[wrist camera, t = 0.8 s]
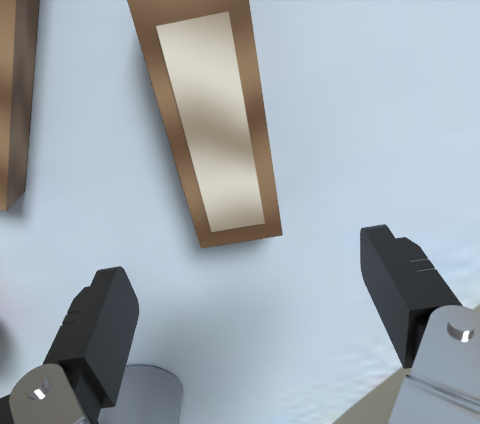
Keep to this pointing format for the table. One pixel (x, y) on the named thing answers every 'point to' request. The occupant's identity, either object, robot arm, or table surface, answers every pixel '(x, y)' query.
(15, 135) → the walnut rail
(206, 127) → the walnut frame
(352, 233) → the table surface
